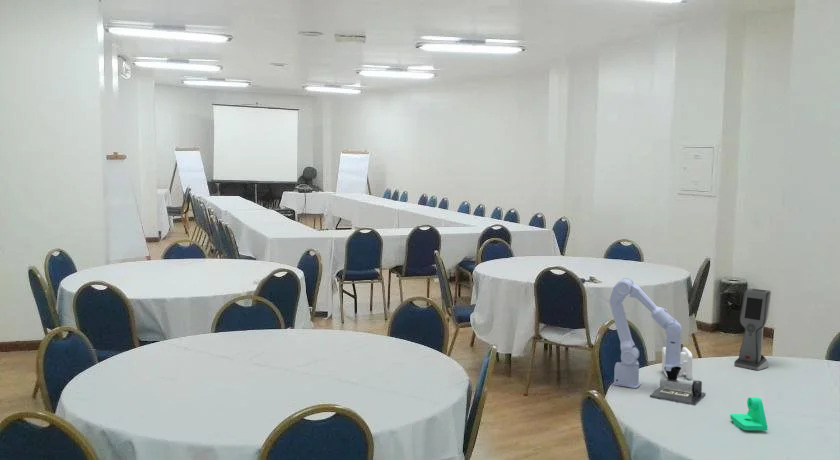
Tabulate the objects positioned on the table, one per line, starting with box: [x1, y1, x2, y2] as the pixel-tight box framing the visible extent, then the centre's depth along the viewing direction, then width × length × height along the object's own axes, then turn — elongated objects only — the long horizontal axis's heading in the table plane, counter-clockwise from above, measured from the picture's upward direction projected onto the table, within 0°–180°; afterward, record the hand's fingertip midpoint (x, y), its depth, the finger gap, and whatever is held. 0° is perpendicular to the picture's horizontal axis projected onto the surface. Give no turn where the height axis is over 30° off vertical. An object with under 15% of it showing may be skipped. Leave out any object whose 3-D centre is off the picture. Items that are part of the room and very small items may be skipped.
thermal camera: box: [733, 288, 772, 372], centre depth 315 cm, size 12×13×35 cm
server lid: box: [649, 387, 706, 406], centre depth 271 cm, size 17×16×1 cm
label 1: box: [660, 389, 676, 394], centre depth 274 cm, size 5×5×1 cm
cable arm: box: [659, 377, 703, 396], centre depth 273 cm, size 16×3×5 cm, turn 55°
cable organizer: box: [661, 346, 694, 380], centre depth 299 cm, size 15×11×12 cm
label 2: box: [674, 391, 691, 397], centre depth 271 cm, size 5×5×1 cm
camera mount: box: [729, 397, 768, 431], centre depth 236 cm, size 12×8×10 cm, turn 178°
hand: (672, 384), depth 279 cm, fingers closed
